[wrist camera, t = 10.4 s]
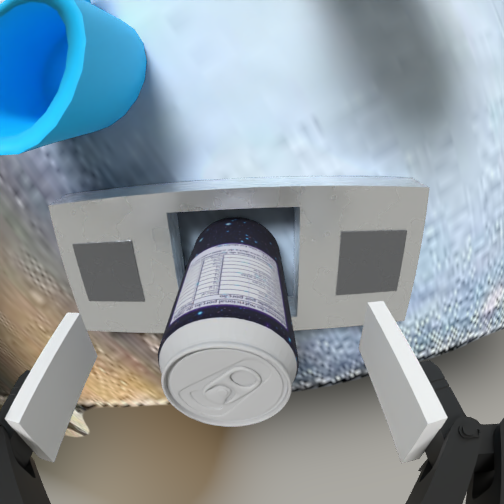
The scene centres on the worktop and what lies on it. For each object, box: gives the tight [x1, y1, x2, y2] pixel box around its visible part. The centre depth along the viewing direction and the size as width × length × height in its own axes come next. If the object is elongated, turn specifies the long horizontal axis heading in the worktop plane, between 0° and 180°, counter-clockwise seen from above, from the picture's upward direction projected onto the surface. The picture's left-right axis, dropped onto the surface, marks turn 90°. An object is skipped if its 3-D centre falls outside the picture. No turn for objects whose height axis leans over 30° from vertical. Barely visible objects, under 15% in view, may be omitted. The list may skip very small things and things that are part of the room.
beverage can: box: [158, 217, 298, 427], centre depth 17 cm, size 6×6×12 cm
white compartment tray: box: [49, 176, 429, 333], centre depth 21 cm, size 24×10×3 cm, turn 92°
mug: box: [0, 0, 147, 155], centre depth 12 cm, size 12×8×8 cm
